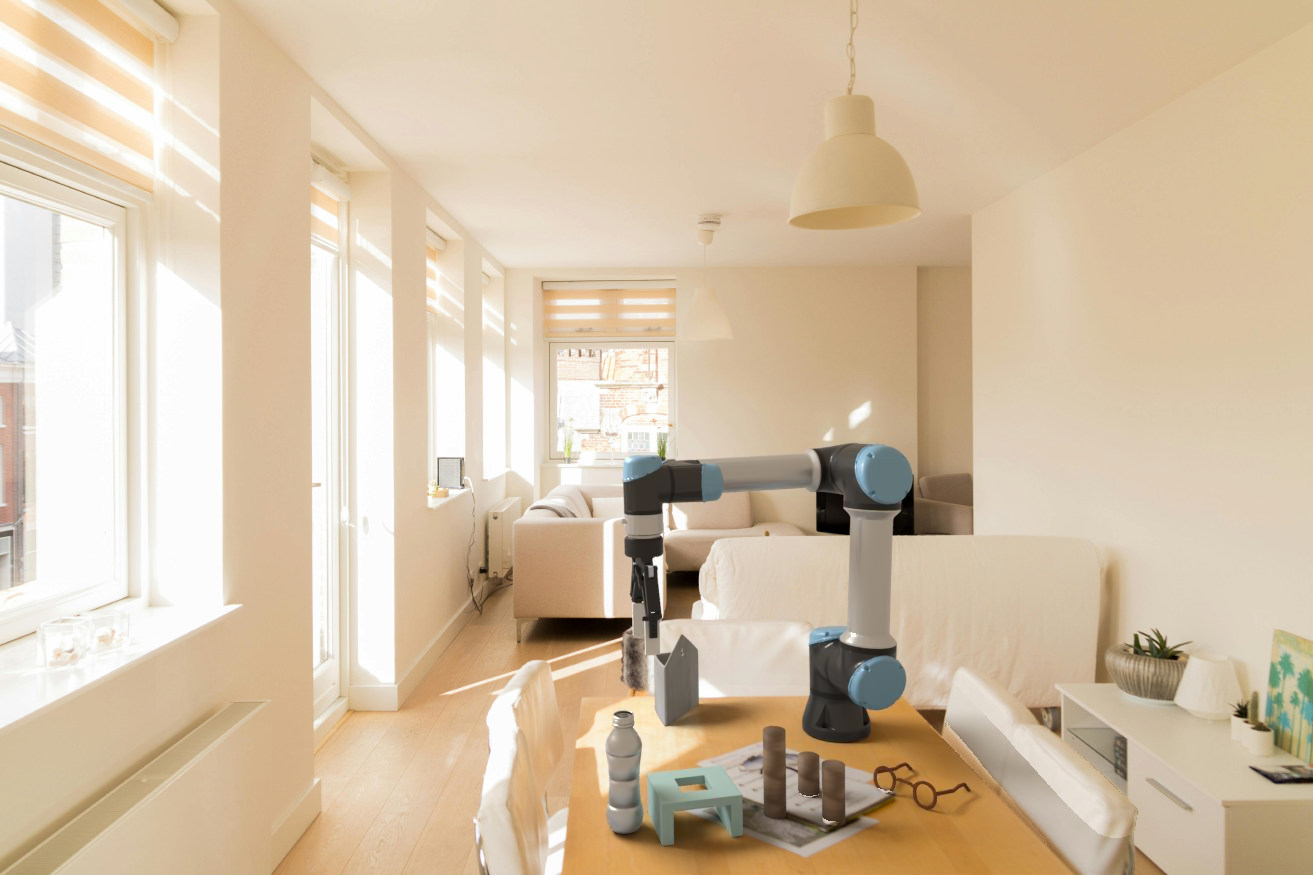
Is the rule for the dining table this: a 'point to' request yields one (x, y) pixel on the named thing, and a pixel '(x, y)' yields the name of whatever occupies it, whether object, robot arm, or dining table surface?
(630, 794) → the plastic bottle
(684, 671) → the planter
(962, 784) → the glasses
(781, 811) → the pin long
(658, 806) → the bridge
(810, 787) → the pin short
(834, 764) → the pin medium
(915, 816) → the dining table surface
